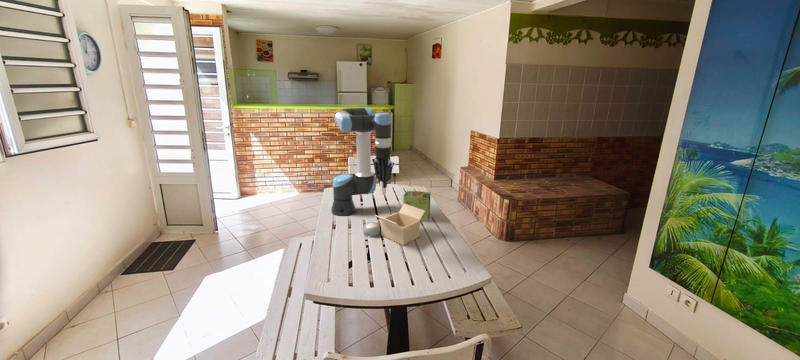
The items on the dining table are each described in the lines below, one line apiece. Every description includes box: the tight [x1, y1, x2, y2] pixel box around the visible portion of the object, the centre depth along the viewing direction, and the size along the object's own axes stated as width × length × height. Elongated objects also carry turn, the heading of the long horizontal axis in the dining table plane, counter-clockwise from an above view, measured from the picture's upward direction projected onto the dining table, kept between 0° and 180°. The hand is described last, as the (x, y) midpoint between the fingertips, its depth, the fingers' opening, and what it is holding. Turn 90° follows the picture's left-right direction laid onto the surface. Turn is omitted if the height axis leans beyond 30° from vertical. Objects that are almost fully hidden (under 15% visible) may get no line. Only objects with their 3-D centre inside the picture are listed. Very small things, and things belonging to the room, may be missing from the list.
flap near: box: [374, 214, 402, 229], centre depth 175 cm, size 15×6×1 cm
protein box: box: [402, 190, 431, 223], centre depth 208 cm, size 10×15×16 cm
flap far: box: [398, 204, 425, 220], centre depth 189 cm, size 15×6×1 cm
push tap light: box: [363, 221, 381, 238], centre depth 188 cm, size 9×9×5 cm
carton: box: [380, 211, 421, 246], centre depth 184 cm, size 17×13×10 cm
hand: (383, 193), depth 168 cm, fingers closed
